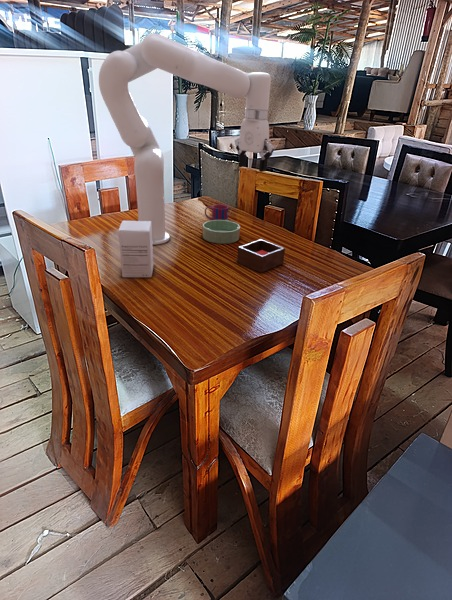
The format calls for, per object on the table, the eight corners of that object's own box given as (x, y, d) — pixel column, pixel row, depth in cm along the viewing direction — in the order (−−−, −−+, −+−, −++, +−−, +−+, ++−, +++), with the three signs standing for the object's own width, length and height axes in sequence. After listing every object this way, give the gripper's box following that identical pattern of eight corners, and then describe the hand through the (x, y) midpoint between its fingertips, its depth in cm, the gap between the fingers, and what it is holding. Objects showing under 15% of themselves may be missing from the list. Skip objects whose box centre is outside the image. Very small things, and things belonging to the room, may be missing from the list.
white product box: (125, 265, 127) (121, 219, 120) (153, 265, 128) (152, 220, 121) (121, 277, 119) (117, 230, 112) (151, 278, 120) (149, 230, 113)
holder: (260, 273, 127) (262, 256, 124) (236, 262, 133) (237, 246, 131) (283, 263, 134) (285, 248, 132) (259, 254, 141) (260, 239, 138)
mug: (225, 226, 165) (226, 209, 162) (202, 222, 168) (202, 206, 164) (229, 221, 171) (230, 205, 168) (207, 218, 173) (207, 202, 170)
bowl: (220, 246, 145) (221, 234, 143) (194, 235, 154) (195, 224, 152) (246, 238, 154) (247, 226, 152) (221, 228, 163) (221, 217, 161)
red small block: (259, 264, 131) (260, 256, 130) (251, 261, 133) (252, 253, 132) (268, 261, 134) (269, 252, 133) (261, 257, 136) (262, 249, 135)
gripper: (229, 113, 135) (227, 165, 143) (269, 118, 124) (264, 174, 133) (244, 112, 139) (241, 163, 148) (284, 117, 129) (278, 172, 137)
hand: (252, 168), depth 140 cm, fingers open, 9 cm apart
